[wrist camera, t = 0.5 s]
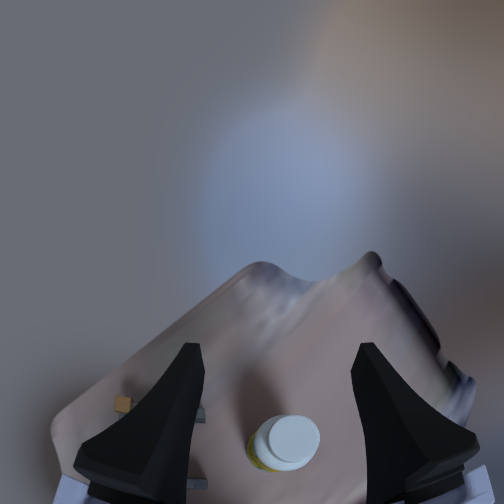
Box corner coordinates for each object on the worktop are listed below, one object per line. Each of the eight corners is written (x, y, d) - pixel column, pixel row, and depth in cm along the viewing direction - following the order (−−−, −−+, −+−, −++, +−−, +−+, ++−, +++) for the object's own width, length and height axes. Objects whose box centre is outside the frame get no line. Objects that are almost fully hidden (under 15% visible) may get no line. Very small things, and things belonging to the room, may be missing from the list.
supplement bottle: (304, 457, 23) (341, 448, 17) (260, 480, 21) (281, 482, 15) (281, 419, 27) (307, 395, 20) (236, 439, 25) (247, 424, 18)
